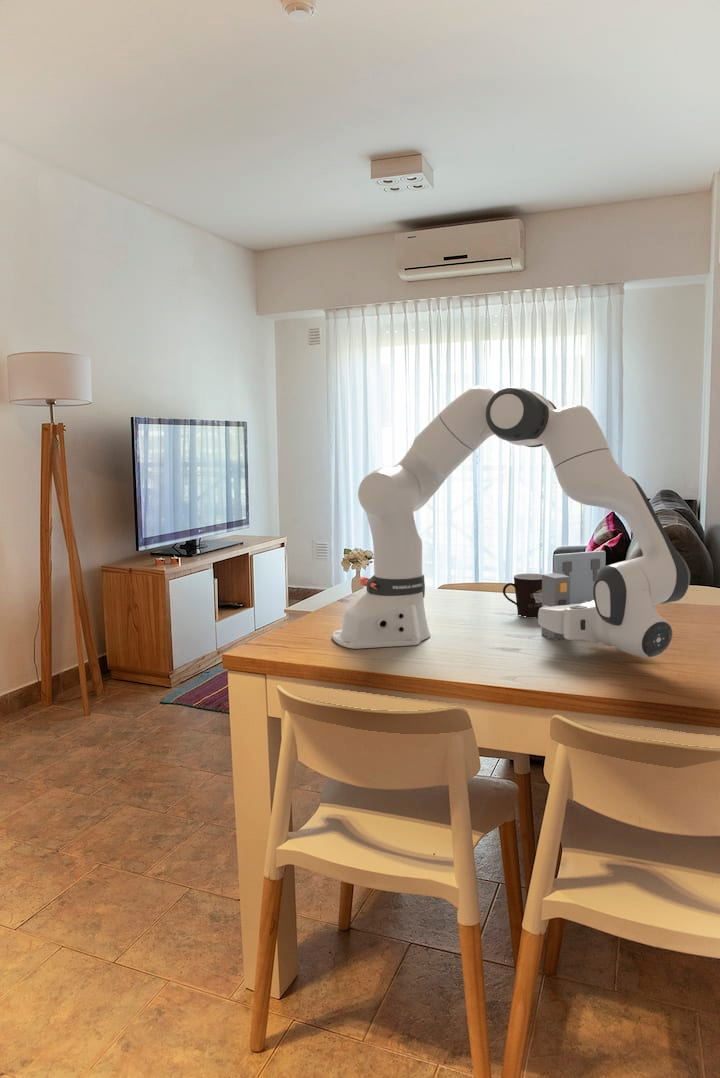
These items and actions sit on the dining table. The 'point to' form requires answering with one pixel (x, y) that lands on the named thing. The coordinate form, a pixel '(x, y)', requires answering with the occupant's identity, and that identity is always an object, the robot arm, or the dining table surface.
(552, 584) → the grey tall rectangular block
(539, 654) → the dining table surface
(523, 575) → the coffee mug
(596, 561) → the grey l-shaped stand
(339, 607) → the dining table surface
